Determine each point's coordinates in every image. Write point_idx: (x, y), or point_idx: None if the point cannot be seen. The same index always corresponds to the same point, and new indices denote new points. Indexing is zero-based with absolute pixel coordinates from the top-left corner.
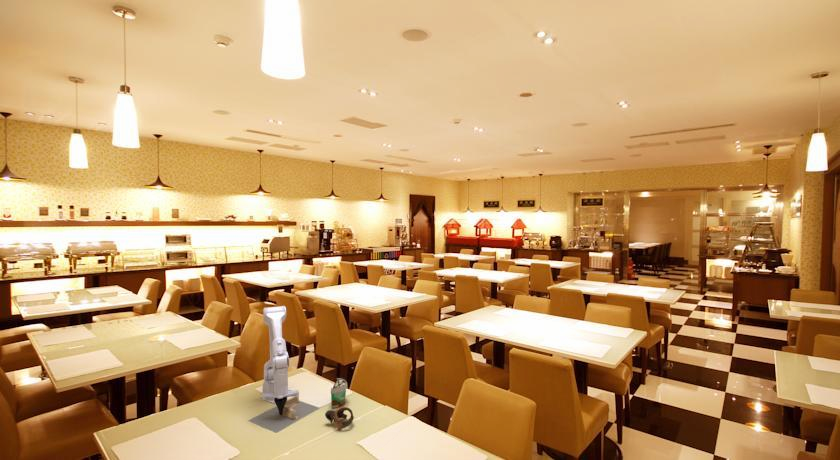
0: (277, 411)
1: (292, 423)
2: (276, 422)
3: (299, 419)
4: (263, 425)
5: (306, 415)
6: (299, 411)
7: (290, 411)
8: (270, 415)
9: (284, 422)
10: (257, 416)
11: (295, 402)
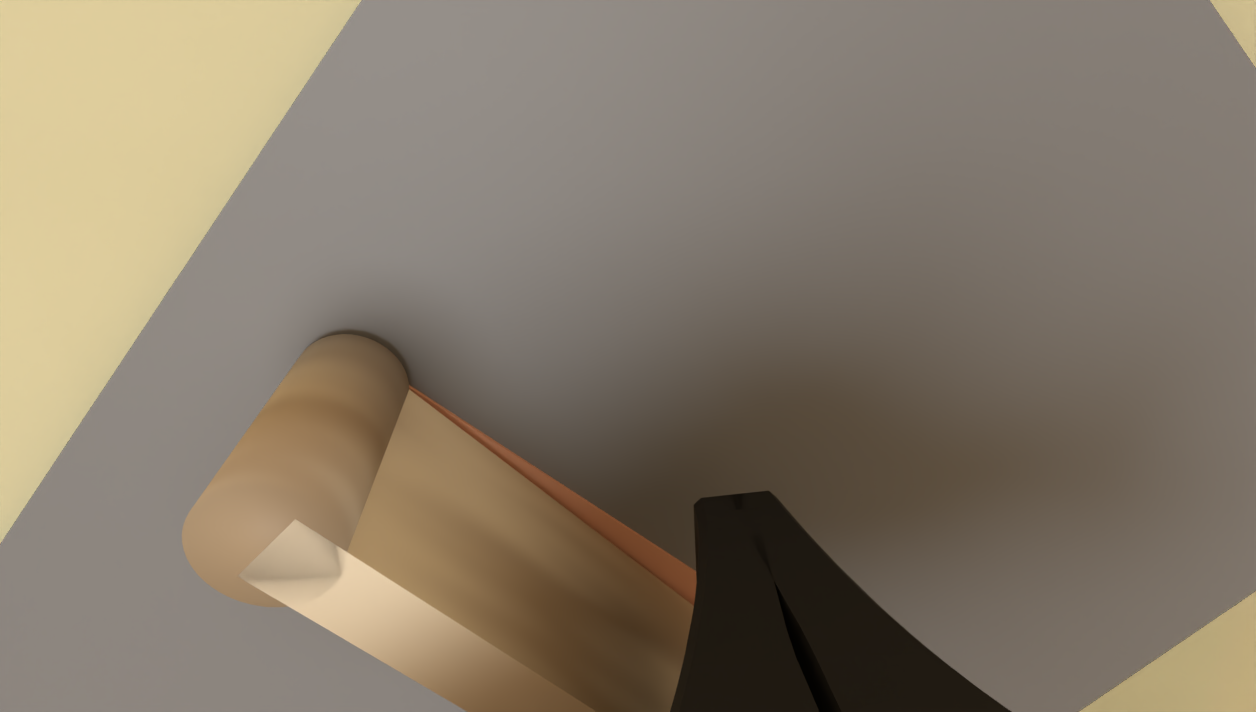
0: None
1: (306, 105)
2: (822, 241)
3: (158, 321)
4: (1187, 120)
5: (37, 506)
6: (313, 682)
7: (426, 549)
8: (975, 580)
9: (586, 211)
10: (1254, 566)
11: None
